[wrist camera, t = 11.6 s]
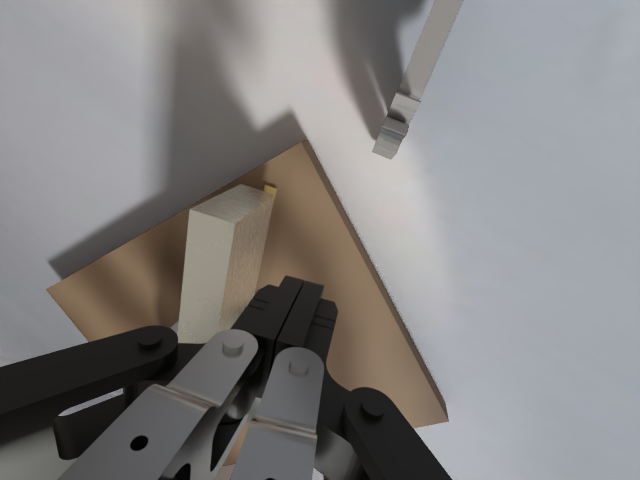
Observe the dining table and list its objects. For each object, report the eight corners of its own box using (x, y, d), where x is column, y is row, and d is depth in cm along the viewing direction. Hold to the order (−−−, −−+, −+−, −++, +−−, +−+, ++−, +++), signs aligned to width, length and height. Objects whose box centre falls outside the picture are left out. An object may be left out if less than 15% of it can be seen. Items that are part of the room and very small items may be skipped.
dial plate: (203, 456, 32) (194, 473, 31) (63, 280, 27) (43, 290, 26) (445, 403, 24) (449, 423, 22) (307, 139, 19) (300, 142, 18)
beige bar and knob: (277, 416, 25) (246, 500, 20) (172, 376, 26) (114, 446, 21) (339, 208, 18) (317, 250, 13) (192, 162, 19) (112, 184, 14)
